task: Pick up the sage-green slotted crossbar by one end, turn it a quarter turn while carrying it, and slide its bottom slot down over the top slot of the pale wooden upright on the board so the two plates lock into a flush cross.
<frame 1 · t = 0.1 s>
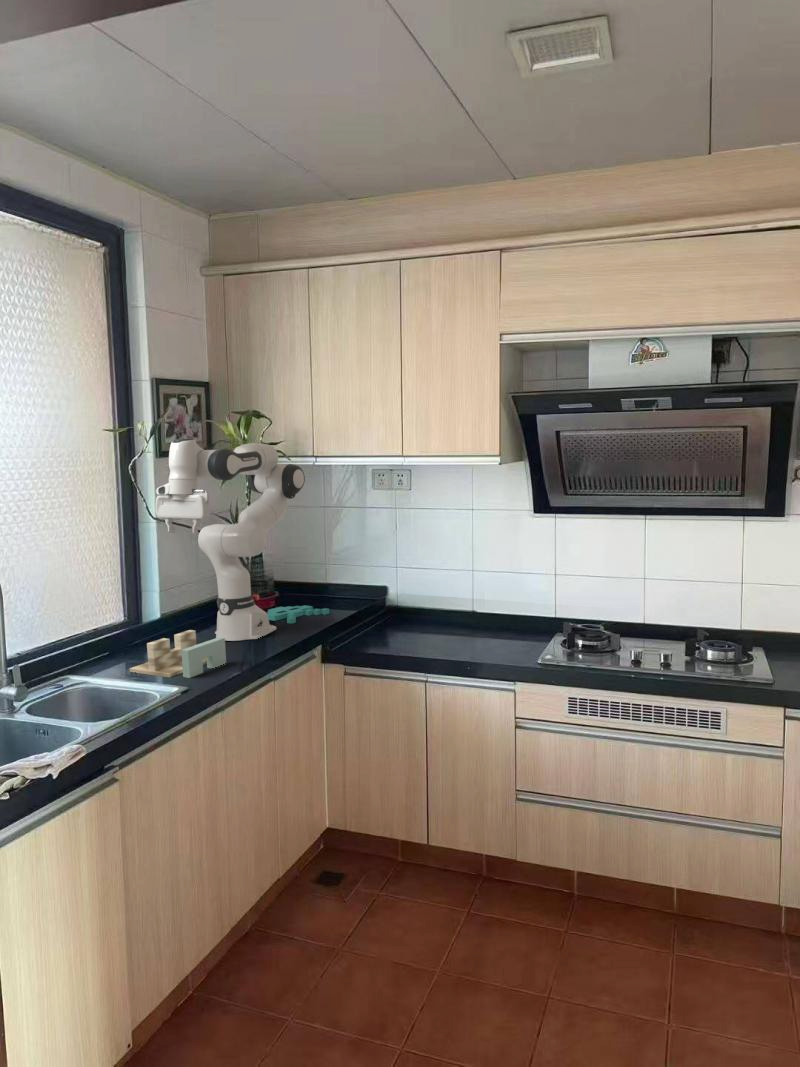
hand: (182, 533, 266), 39 cm above the countertop, tool pointing down, fingers open, 8 cm apart
slotted stand: (173, 665, 256), on the countertop
crossbar: (205, 670, 250), on the countertop
alien figure: (292, 617, 322), on the countertop
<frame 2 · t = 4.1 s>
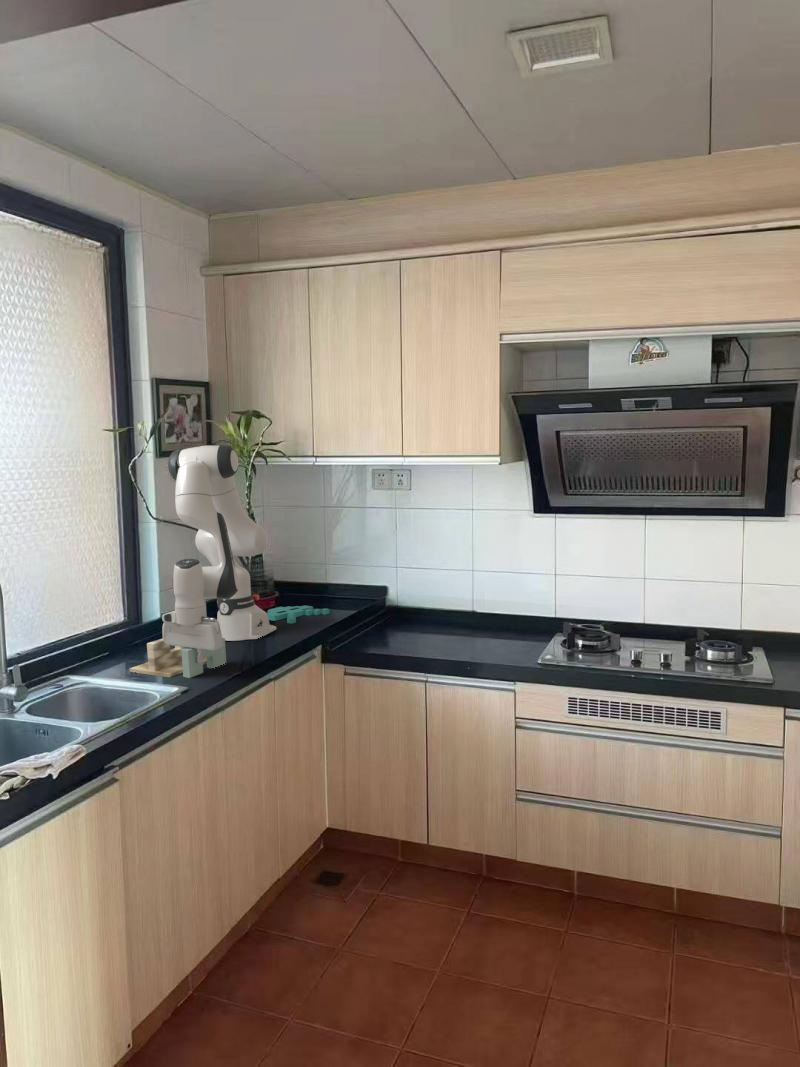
hand: (194, 662, 245), 4 cm above the countertop, tool pointing down, fingers closed on crossbar, 2 cm apart
crossbar: (205, 670, 250), on the countertop, touching gripper
everything else where it was.
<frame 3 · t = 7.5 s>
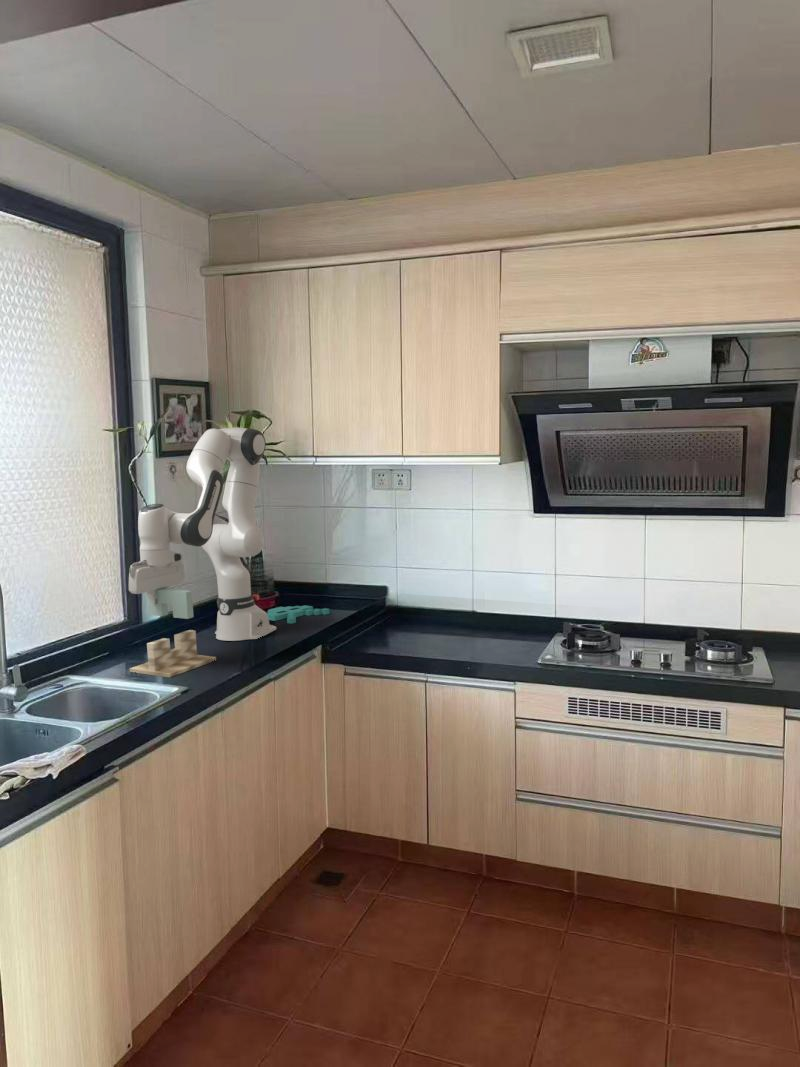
hand: (158, 603, 256), 19 cm above the countertop, tool pointing down, fingers closed on crossbar, 2 cm apart
crossbar: (170, 615, 254), point 15 cm above the countertop, touching gripper
everything else where it was.
when the fingers open (6 cm above the countertop, at t = 11.0 s): crossbar drops 1 cm, resting on slotted stand.
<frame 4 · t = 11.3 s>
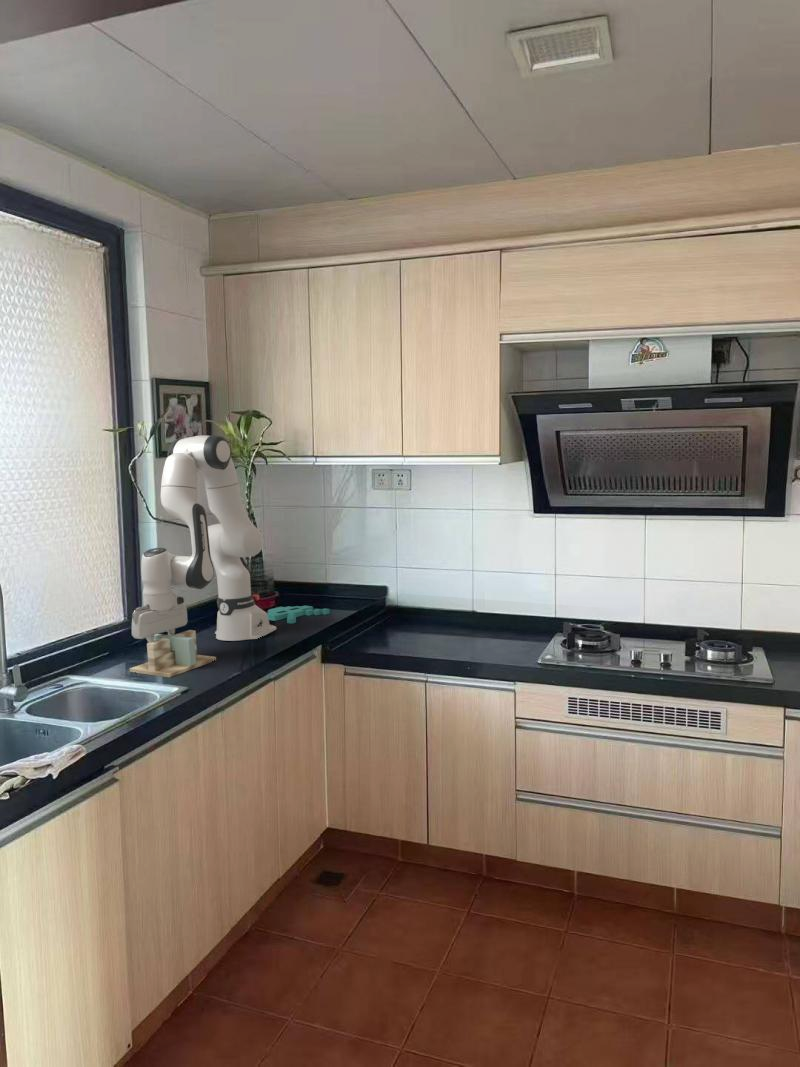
hand: (161, 646, 257), 6 cm above the countertop, tool pointing down, fingers open, 5 cm apart
crossbar: (173, 662, 256), point 1 cm above the countertop, touching slotted stand
everything else where it was.
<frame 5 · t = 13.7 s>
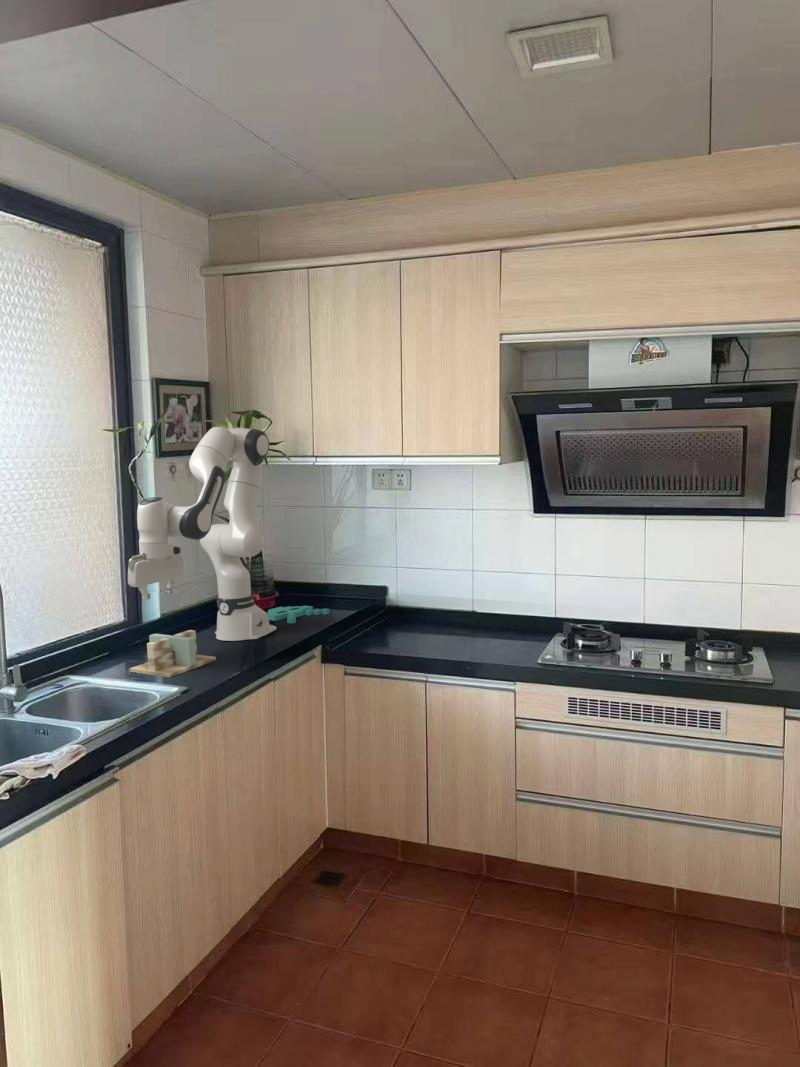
hand: (158, 596, 256), 21 cm above the countertop, tool pointing down, fingers open, 8 cm apart
nothing on the countertop moved.
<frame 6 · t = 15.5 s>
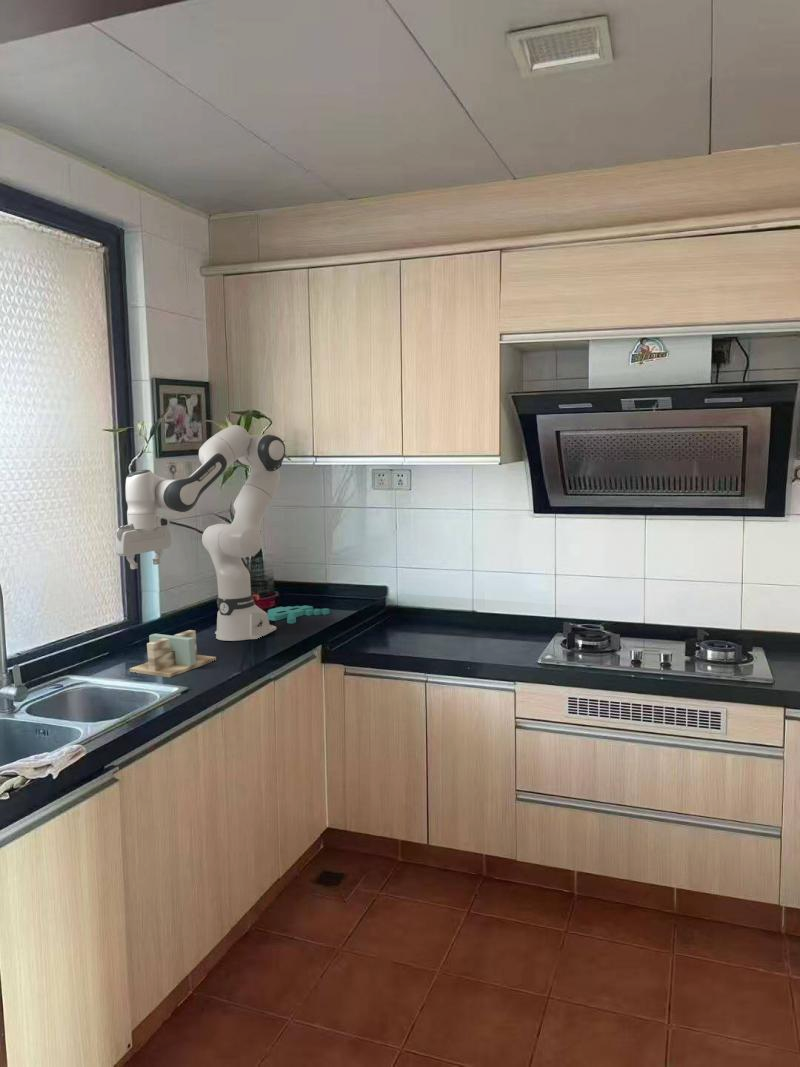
hand: (145, 566, 263), 29 cm above the countertop, tool pointing down, fingers open, 8 cm apart
nothing on the countertop moved.
at the end: crossbar 0.2 cm off-centre on the slotted stand, point 1.0 cm above the slotted stand's base; crossbar tilted 0°; the gripper is holding nothing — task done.
